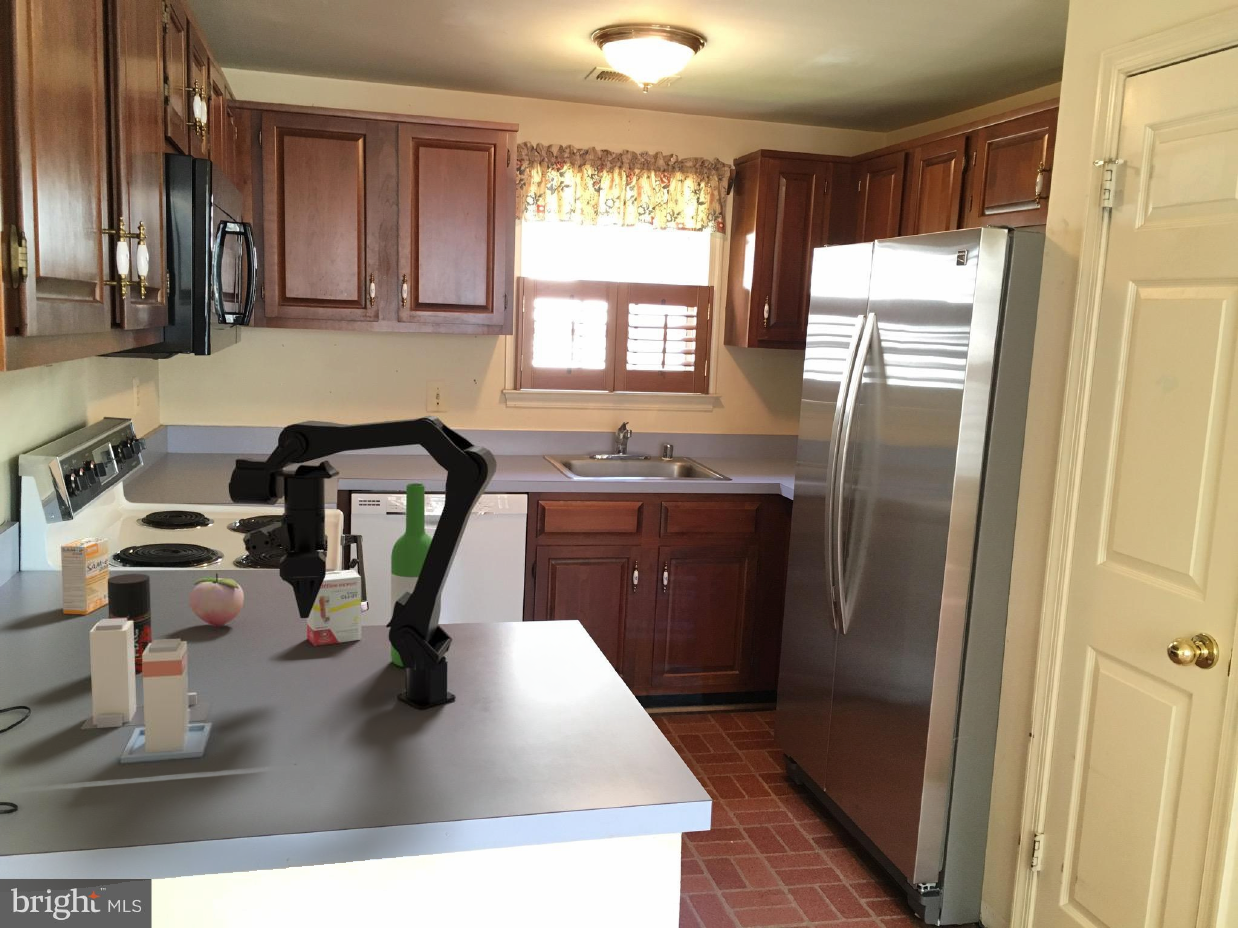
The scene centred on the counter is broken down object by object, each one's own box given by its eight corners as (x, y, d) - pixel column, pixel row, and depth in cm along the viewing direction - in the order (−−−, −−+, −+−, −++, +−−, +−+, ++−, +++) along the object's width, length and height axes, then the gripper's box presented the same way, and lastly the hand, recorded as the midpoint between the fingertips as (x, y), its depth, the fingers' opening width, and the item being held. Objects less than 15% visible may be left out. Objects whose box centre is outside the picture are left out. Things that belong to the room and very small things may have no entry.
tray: (211, 730, 133) (211, 722, 133) (202, 760, 124) (202, 751, 124) (136, 736, 130) (135, 727, 130) (120, 766, 121) (120, 757, 121)
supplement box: (87, 615, 182) (85, 546, 180) (62, 614, 182) (59, 545, 180) (111, 603, 190) (109, 537, 188) (87, 602, 190) (84, 536, 188)
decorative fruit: (253, 621, 182) (252, 568, 180) (232, 634, 174) (231, 579, 172) (205, 618, 183) (204, 566, 181) (182, 631, 175) (180, 576, 173)
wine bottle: (427, 671, 158) (428, 489, 154) (382, 667, 160) (382, 486, 156) (445, 656, 166) (446, 482, 162) (402, 652, 167) (403, 479, 163)
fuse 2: (189, 735, 130) (187, 636, 128) (184, 749, 125) (181, 647, 123) (151, 738, 128) (148, 638, 127) (145, 752, 124) (141, 649, 122)
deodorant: (142, 661, 158) (139, 571, 156) (159, 670, 155) (156, 578, 153) (104, 670, 154) (100, 578, 152) (121, 680, 150) (117, 585, 148)
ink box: (313, 646, 169) (312, 580, 167) (306, 638, 173) (305, 573, 171) (362, 640, 173) (362, 575, 171) (354, 632, 177) (354, 569, 176)
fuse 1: (136, 709, 138) (133, 616, 136) (129, 721, 133) (126, 625, 132) (101, 711, 137) (97, 617, 135) (93, 724, 132) (89, 627, 130)
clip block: (211, 704, 142) (211, 691, 141) (205, 723, 135) (204, 709, 135) (93, 712, 138) (93, 698, 137) (80, 732, 131) (80, 718, 130)
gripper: (252, 496, 151) (253, 594, 153) (240, 519, 133) (242, 630, 135) (327, 495, 154) (328, 591, 156) (325, 518, 136) (326, 626, 138)
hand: (305, 608), depth 146 cm, fingers open, 9 cm apart
